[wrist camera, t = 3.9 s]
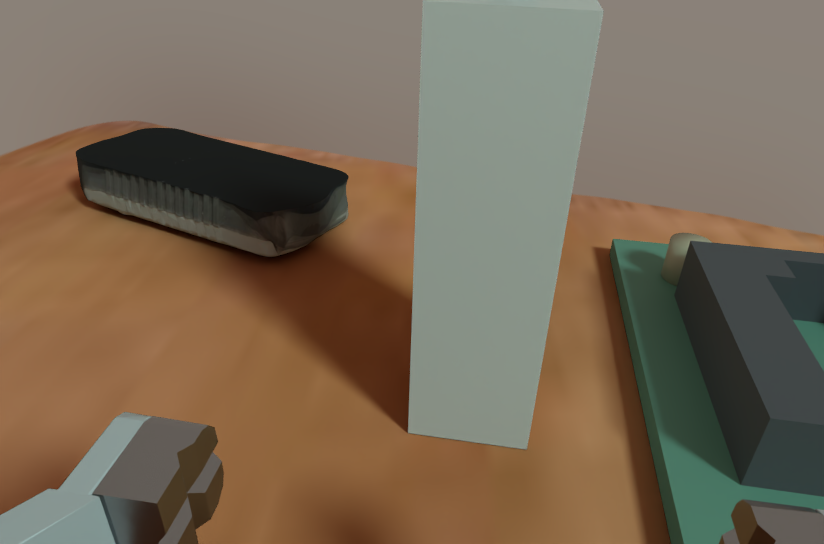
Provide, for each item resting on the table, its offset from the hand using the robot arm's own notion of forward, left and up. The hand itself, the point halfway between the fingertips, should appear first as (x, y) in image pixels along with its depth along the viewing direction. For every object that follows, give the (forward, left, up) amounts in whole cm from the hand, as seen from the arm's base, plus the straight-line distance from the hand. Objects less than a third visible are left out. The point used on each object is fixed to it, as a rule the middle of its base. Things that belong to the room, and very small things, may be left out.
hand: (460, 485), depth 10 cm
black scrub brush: (0, +31, -10) cm, 33 cm away
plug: (+7, +10, -9) cm, 15 cm away
